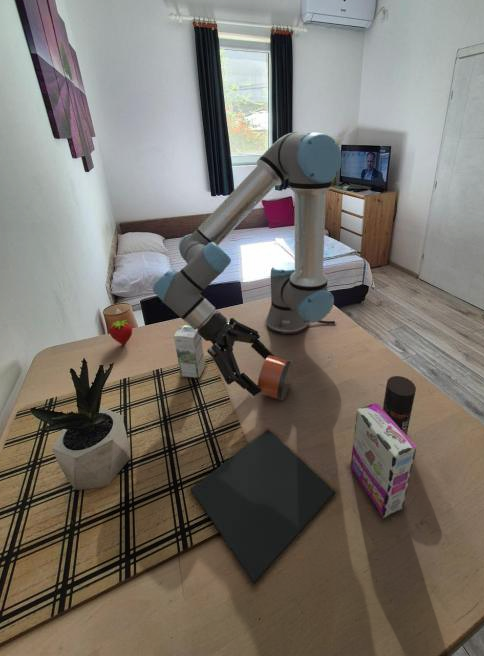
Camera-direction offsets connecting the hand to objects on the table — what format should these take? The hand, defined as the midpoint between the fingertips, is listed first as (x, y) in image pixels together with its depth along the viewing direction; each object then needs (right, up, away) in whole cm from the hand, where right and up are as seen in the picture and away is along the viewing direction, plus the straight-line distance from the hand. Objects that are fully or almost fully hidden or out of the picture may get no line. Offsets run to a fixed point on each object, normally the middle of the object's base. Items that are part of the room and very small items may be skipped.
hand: (264, 374), depth 86 cm
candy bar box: (+24, -16, -22) cm, 36 cm away
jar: (+3, -1, -1) cm, 3 cm away
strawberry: (-48, +3, +21) cm, 53 cm away
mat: (+1, -16, -23) cm, 28 cm away
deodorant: (+31, -11, -11) cm, 34 cm away
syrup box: (-22, -2, +9) cm, 24 cm away
